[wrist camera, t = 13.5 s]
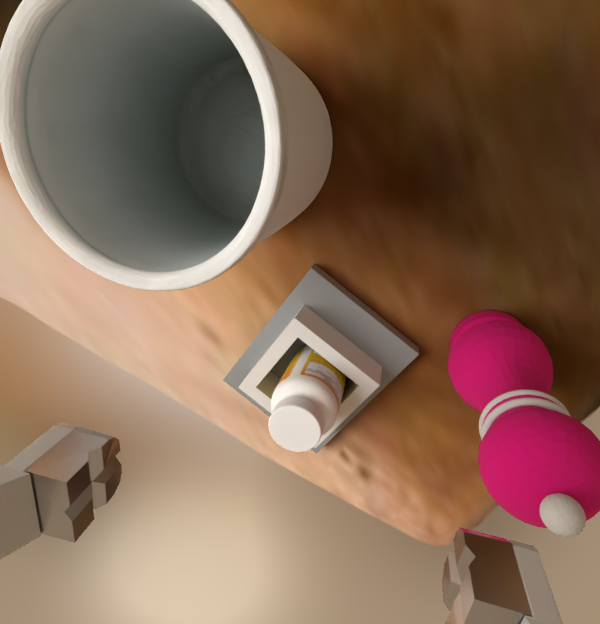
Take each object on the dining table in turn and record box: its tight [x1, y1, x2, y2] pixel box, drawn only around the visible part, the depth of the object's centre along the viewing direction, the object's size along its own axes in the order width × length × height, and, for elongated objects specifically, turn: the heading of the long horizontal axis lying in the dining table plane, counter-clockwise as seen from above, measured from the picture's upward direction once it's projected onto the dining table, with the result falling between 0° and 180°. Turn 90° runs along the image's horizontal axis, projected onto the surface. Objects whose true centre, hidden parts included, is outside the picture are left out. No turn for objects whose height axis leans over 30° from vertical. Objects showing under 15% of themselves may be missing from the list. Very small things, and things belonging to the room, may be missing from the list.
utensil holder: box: [0, 0, 333, 291], centre depth 28 cm, size 15×15×18 cm
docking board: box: [224, 264, 419, 453], centre depth 39 cm, size 12×15×5 cm
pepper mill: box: [448, 310, 600, 537], centre depth 27 cm, size 7×7×20 cm
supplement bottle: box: [268, 345, 347, 452], centre depth 35 cm, size 5×5×10 cm
